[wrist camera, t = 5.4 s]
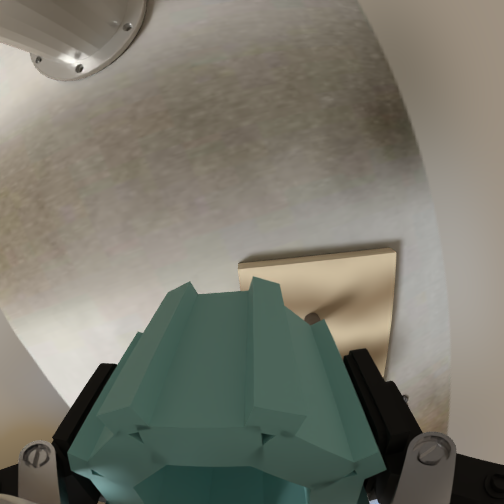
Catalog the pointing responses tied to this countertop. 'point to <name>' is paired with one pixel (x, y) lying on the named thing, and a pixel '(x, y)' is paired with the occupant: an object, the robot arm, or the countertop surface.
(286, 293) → the board
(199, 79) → the countertop surface
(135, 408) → the teal gear
